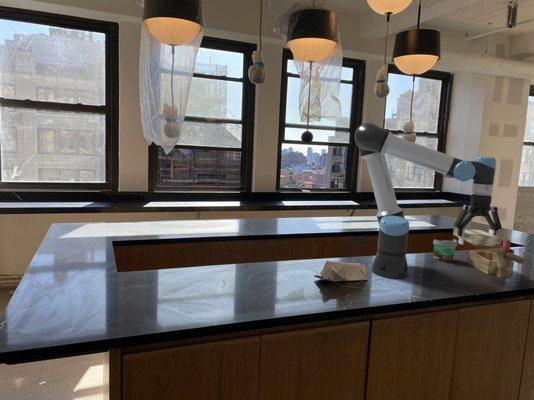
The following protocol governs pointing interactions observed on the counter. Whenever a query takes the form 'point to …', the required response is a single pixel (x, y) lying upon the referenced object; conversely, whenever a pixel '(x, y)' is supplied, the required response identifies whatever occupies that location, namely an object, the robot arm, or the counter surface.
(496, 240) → the cream flat piece
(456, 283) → the counter surface
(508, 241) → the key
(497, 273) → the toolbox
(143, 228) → the counter surface
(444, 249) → the food container
